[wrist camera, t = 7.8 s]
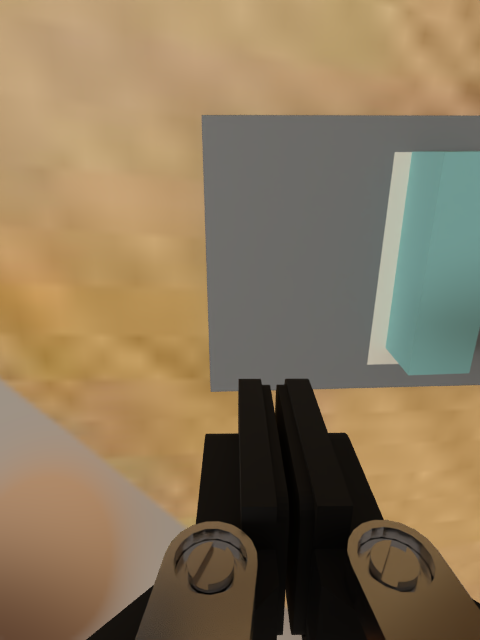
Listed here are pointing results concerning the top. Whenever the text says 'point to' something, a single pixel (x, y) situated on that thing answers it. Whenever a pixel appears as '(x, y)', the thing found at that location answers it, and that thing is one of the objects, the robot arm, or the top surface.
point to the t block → (438, 266)
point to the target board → (312, 244)
